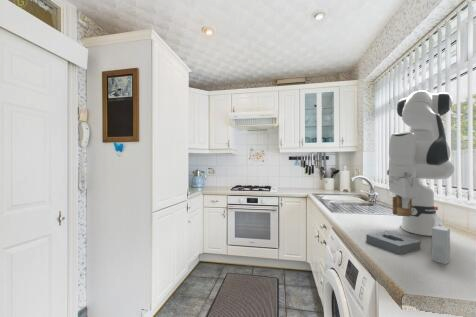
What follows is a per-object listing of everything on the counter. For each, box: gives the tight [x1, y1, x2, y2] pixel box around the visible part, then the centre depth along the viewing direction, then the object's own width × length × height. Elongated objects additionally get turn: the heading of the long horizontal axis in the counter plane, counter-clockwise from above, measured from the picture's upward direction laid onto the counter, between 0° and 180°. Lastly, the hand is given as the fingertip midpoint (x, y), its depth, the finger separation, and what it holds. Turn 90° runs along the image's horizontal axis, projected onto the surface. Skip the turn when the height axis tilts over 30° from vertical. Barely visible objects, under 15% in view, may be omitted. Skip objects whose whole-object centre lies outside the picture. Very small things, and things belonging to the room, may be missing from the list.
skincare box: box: [431, 226, 451, 265], centre depth 81 cm, size 6×4×12 cm
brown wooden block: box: [392, 196, 412, 217], centre depth 87 cm, size 6×4×7 cm, turn 69°
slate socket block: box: [365, 230, 421, 255], centre depth 95 cm, size 14×14×3 cm
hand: (402, 206), depth 87 cm, fingers closed on brown wooden block, 4 cm apart
